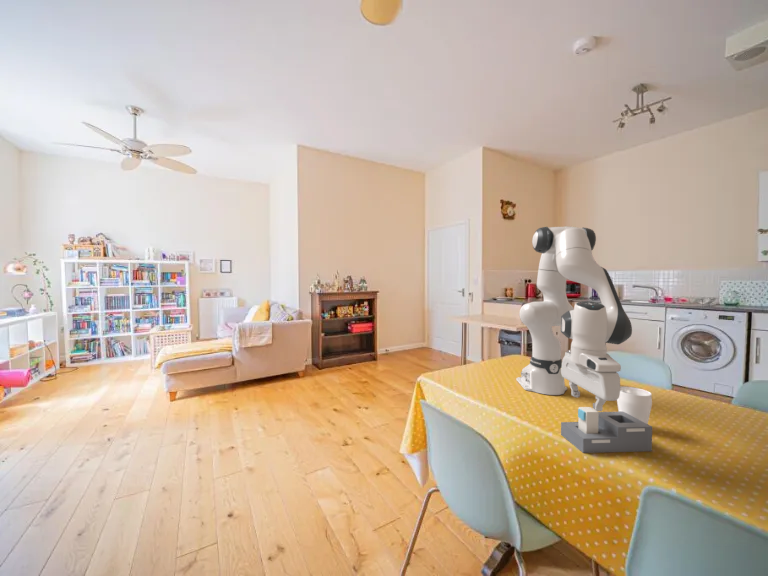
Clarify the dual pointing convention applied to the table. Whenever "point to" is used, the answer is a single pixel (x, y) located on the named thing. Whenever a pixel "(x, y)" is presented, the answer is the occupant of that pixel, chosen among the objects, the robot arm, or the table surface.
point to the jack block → (611, 434)
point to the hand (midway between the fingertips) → (585, 403)
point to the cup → (635, 402)
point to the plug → (588, 420)
